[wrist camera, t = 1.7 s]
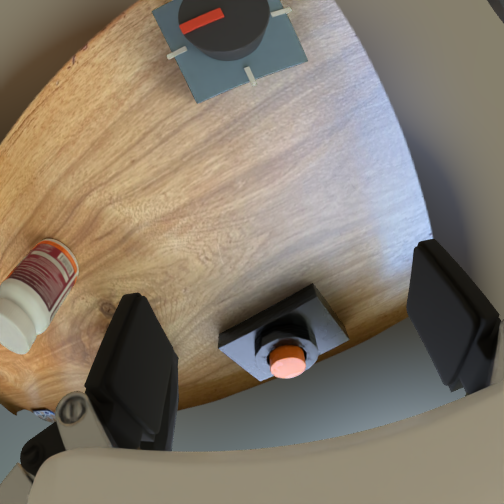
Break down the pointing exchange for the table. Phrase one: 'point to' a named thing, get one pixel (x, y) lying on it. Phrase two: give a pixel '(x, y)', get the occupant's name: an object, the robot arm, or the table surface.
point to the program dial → (224, 26)
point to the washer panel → (238, 71)
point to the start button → (287, 361)
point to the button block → (284, 332)
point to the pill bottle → (35, 293)
